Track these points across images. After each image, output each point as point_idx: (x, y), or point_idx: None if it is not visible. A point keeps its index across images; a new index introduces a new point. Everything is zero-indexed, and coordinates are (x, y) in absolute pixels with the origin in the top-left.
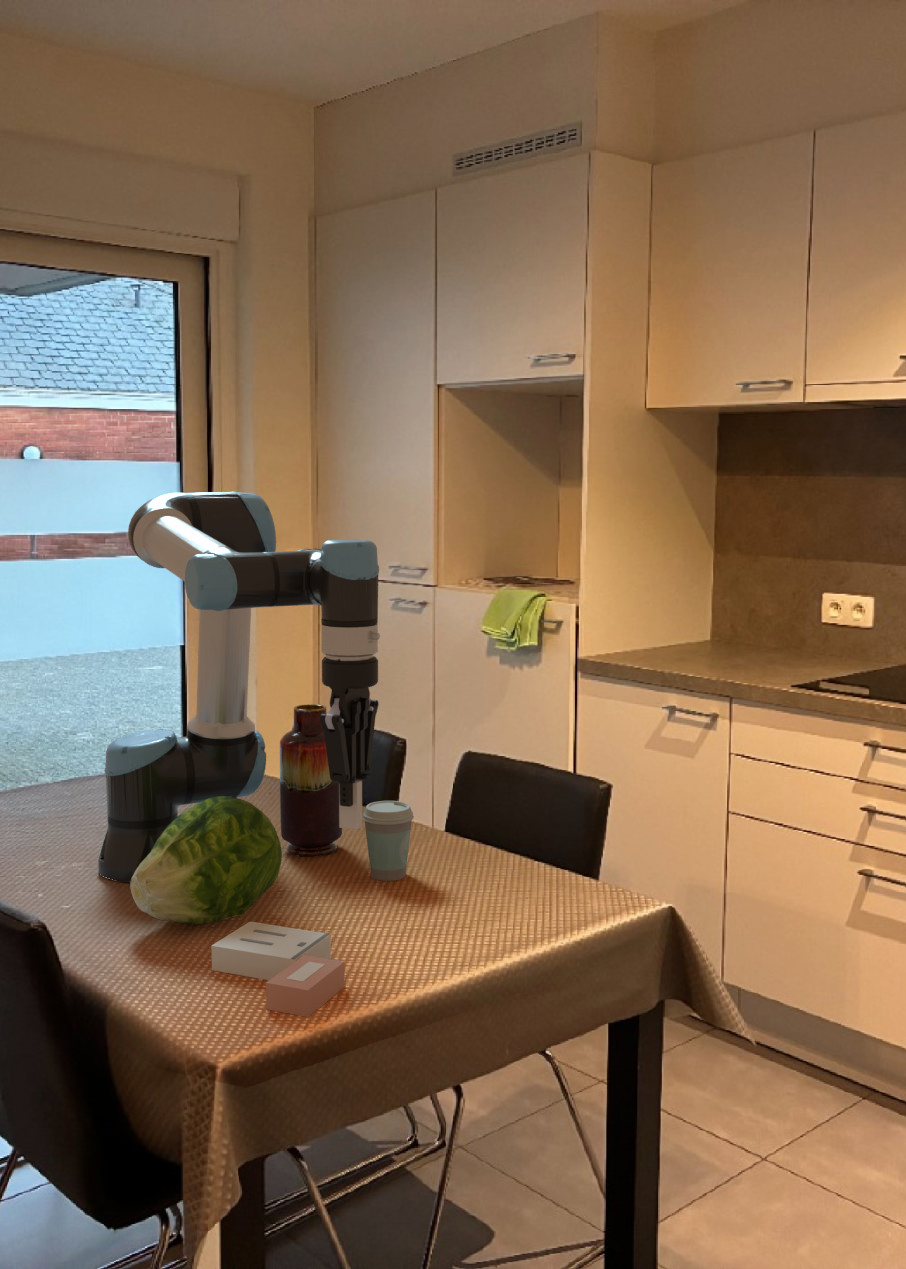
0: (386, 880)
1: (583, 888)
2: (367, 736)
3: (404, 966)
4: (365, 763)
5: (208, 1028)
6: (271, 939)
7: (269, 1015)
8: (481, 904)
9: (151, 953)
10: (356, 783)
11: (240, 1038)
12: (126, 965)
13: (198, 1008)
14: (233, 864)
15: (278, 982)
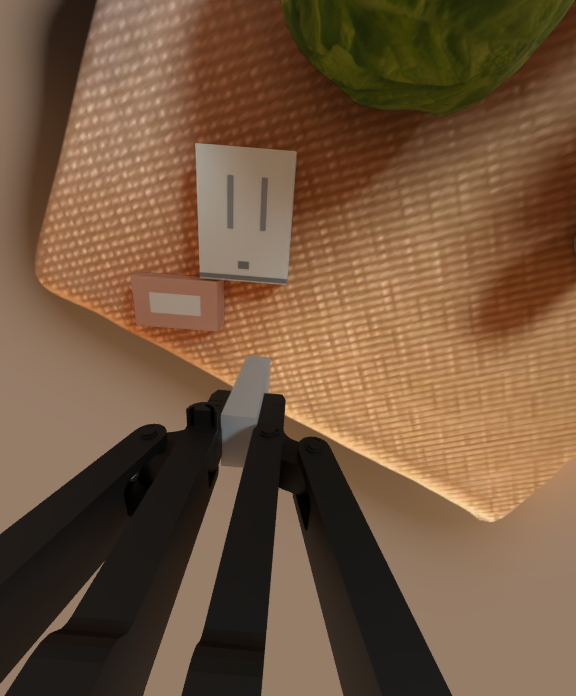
0: (574, 242)
1: (544, 460)
2: (330, 623)
3: (291, 359)
4: (295, 503)
5: (82, 235)
6: (245, 218)
7: None
8: (484, 380)
9: (223, 18)
10: (221, 462)
11: (83, 277)
12: (171, 5)
13: (113, 198)
14: (340, 47)
15: (137, 287)
